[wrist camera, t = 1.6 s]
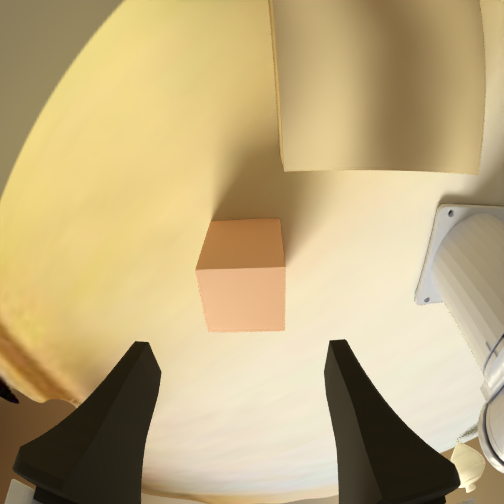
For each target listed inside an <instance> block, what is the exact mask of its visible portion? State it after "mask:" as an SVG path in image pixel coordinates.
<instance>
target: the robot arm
mask: <svg viewBox="0 0 504 504" xmlns="http://www.w3.org/2000/svg"><path fill="white" fill-rule="evenodd" d="M450 210H452V211H451V213H450V214H448V213H449V211H450ZM425 298H426V299H425ZM414 301H415V303H416V304H417V305H425V304H434V303H442V302H444V304H445V305H446V307H447V309H448V310H449V312H450V314H451V316H452V317H453V319H454V321H455V322H456V324H457V326H458V328H459V329H460V331H461V333H462V335H463V337H464V338H465V340H466V342H467V344H468V346H469V348H470V350H471V352H472V354H473V355H474V357H475V359H476V361H477V363H478V365H479V367H480V369H481V371H482V373H483V376H484V377H485V381H484V383H483V385H482V386H481V388H480V389H481V392H482V394H483V396H484V398H485V401H486V402H485V404H484V405H483V408H482V410H481V412H480V416H479V420H478V436H479V441H480V445H481V448H482V450H483V453H484V455H485V456H486V458H487V460H488V461H489V462H490V463H491V464H492V466H493V467H495V468H496V469H497V470H498V471H501V472H502V473H504V207H502V206H484V205H462V204H442V205H440V206H439V207H438V209H437V212H436V217H435V222H434V226H433V231H432V235H431V240H430V244H429V248H428V252H427V256H426V260H425V263H424V267H423V271H422V274H421V278H420V281H419V285H418V288H417V291H416V294H415V298H414ZM324 377H325V388H326V396H327V401H328V406H329V411H330V416H331V421H332V426H333V431H334V436H335V441H336V448H337V462H338V482H339V504H445V503H446V500H445V495H447V494H448V493H450V492H452V491H454V490H455V489H457V488H458V487H459V486H460V485H461V481H460V477H459V474H458V471H457V469H456V466H455V464H454V463H452V462H451V461H449V460H448V459H446V458H445V457H444V456H442V455H441V454H439V453H438V452H437V451H435V450H434V449H433V448H432V447H430V446H429V445H428V444H427V443H425V442H424V441H423V440H422V439H421V438H420V437H419V436H418V435H417V434H416V433H414V432H413V431H412V430H411V429H410V428H409V427H408V426H407V425H406V424H405V423H404V422H403V421H402V420H401V419H400V417H399V416H398V415H397V414H396V413H395V412H394V411H393V410H392V408H391V407H390V406H389V405H388V404H387V402H386V401H385V400H384V398H383V397H382V396H381V394H380V393H379V392H378V390H377V389H376V388H375V386H374V385H373V383H372V382H371V380H370V379H369V377H368V376H367V375H366V373H365V371H364V370H363V368H362V367H361V365H360V363H359V362H358V360H357V358H356V357H355V355H354V353H353V352H352V350H351V348H350V346H349V344H348V342H347V341H346V340H345V339H343V340H330V341H329V347H328V353H327V358H326V364H325V369H324ZM160 379H161V370H160V368H159V365H158V363H157V361H156V359H155V356H154V354H153V352H152V349H151V347H150V345H149V342H138V341H135V342H134V343H133V345H132V346H131V347H130V348H129V350H128V351H127V352H126V353H125V355H124V356H123V357H122V358H121V360H120V361H119V362H118V363H117V365H116V366H115V367H114V368H113V370H112V371H111V372H110V373H109V374H108V376H107V377H106V378H105V379H104V381H103V382H102V383H101V384H100V385H99V386H98V387H97V388H96V390H95V391H94V392H93V393H92V394H91V395H90V396H89V397H88V398H87V399H86V400H85V401H84V402H83V403H82V404H81V405H80V406H79V407H78V408H77V409H76V410H75V411H74V412H72V413H71V414H70V415H69V416H68V417H67V418H65V419H64V420H63V421H61V422H60V423H59V424H58V425H56V426H55V427H53V428H52V429H50V430H49V431H48V432H46V433H45V434H43V435H41V436H40V437H38V438H36V439H35V440H33V441H31V442H29V443H27V444H25V445H23V446H21V447H20V449H19V452H18V455H17V457H16V460H15V463H14V466H13V471H14V472H15V473H17V474H18V475H20V476H21V477H23V478H24V479H26V480H27V481H29V482H31V483H32V484H34V485H36V490H33V489H32V488H30V487H28V486H26V485H24V484H22V483H20V482H19V481H17V480H15V479H12V482H11V484H10V488H9V491H8V494H7V497H6V501H5V504H141V479H142V466H143V457H144V449H145V443H146V438H147V434H148V430H149V426H150V423H151V419H152V415H153V412H154V408H155V404H156V401H157V397H158V393H159V386H160ZM459 504H476V500H475V497H472V498H470V499H468V500H466V501H463V502H461V503H459Z"/></svg>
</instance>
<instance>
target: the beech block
mask: <svg viewBox="0 0 504 504" xmlns="http://www.w3.org/2000/svg"><path fill="white" fill-rule="evenodd" d="M268 4H269V14H270V25H271V36H272V48H273V60H274V73H275V87H276V101H277V117H278V133H279V151H280V156H281V160H282V164H283V168H284V172H287V171H315V170H400V171H427V172H445V173H460V174H473V175H478V172H479V165H480V158H481V149H482V140H483V129H484V115H485V48H484V35H483V25H482V16H481V9H480V2H479V0H268Z"/></svg>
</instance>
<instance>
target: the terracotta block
mask: <svg viewBox="0 0 504 504" xmlns="http://www.w3.org/2000/svg"><path fill="white" fill-rule="evenodd" d="M196 275H197V280H198V286H199V291H200V296H201V301H202V305H203V310H204V315H205V320H206V324H207V329H208V332H258V331H285V259H284V250H283V241H282V233H281V224H280V218H269V219H243V220H220V221H211V222H210V225H209V228H208V231H207V234H206V237H205V241H204V244H203V247H202V250H201V253H200V257H199V260H198V263H197V266H196Z"/></svg>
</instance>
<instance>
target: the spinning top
mask: <svg viewBox="0 0 504 504" xmlns="http://www.w3.org/2000/svg"><path fill="white" fill-rule="evenodd" d="M456 441H457V445H456V446H455V449H454V451H453V454H452V457H451V460H450V461H451V462H452V463H454V464H455V466H456V469H457V471H458V474H459V477H460V481H461V485H460V486H459V487H458V488H462V487H466V492H470V491H472V490H474V489H476V486H475V484H474V482H476V481H477V480H478V479H479V478H480V477H481V475H482V473H483V471H484V468H485V460H484V458H483V456H482V455H481V454H480V453H479V452H477V451H476V450H474V449H473V448H471V447H469V446H467V445H465V444H463V443H459V441H458V439H456Z"/></svg>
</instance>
